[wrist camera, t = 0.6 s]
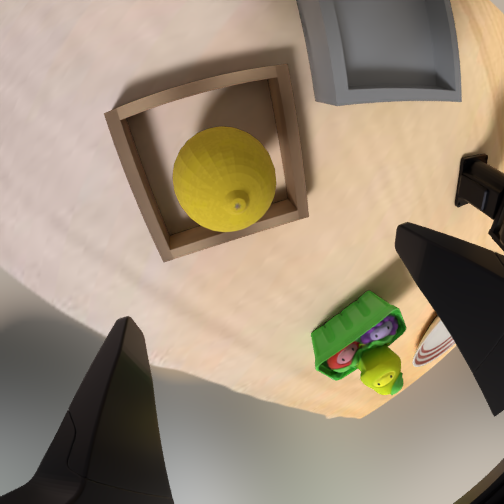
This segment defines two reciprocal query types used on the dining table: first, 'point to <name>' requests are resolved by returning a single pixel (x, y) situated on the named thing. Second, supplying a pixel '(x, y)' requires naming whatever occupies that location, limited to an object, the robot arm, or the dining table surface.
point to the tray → (381, 50)
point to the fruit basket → (362, 344)
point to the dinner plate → (433, 343)
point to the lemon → (224, 179)
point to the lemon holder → (289, 149)
